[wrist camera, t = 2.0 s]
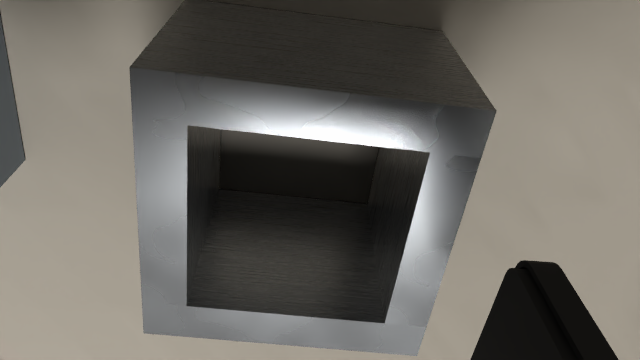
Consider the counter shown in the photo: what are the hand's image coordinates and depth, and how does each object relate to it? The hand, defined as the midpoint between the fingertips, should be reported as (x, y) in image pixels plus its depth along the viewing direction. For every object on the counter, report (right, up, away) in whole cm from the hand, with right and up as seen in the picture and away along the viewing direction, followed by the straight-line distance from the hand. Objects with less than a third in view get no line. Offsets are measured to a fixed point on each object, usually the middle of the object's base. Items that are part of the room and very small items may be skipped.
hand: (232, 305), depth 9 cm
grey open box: (+1, +4, +6) cm, 7 cm away
